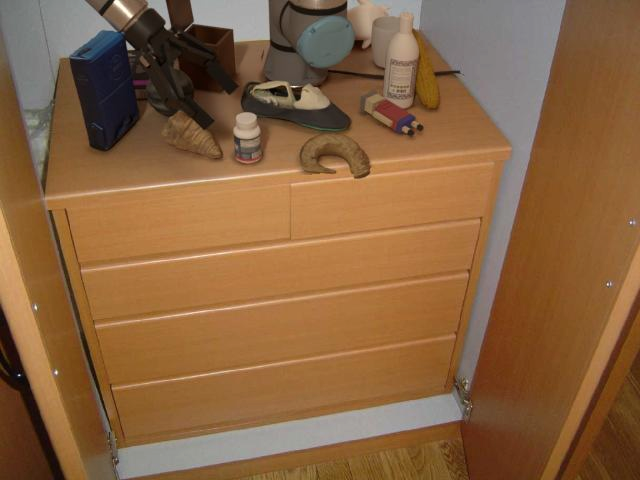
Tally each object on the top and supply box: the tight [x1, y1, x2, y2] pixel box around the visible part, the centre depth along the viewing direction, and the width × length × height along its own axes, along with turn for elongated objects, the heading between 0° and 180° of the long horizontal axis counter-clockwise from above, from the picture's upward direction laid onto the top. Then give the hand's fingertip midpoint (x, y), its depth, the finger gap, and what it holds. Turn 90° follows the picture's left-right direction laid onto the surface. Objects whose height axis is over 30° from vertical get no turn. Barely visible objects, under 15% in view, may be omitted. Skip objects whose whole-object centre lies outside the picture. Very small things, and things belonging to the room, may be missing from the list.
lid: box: [165, 0, 195, 31], centre depth 144 cm, size 11×9×1 cm
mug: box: [370, 15, 399, 69], centre depth 158 cm, size 13×9×10 cm
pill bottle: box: [232, 111, 263, 164], centre depth 128 cm, size 5×5×9 cm
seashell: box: [160, 110, 222, 159], centre depth 131 cm, size 14×8×8 cm
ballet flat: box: [240, 81, 352, 132], centre depth 139 cm, size 8×24×8 cm, turn 72°
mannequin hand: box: [347, 0, 391, 50], centre depth 169 cm, size 12×18×12 cm
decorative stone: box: [146, 67, 196, 117], centre depth 140 cm, size 10×10×10 cm
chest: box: [177, 23, 237, 94], centre depth 150 cm, size 10×9×11 cm
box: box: [127, 49, 149, 100], centre depth 153 cm, size 14×4×20 cm
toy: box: [359, 90, 425, 137], centre depth 141 cm, size 6×4×15 cm
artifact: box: [299, 132, 372, 180], centre depth 129 cm, size 12×3×15 cm
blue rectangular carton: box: [68, 29, 140, 152], centre depth 129 cm, size 14×5×20 cm, turn 164°
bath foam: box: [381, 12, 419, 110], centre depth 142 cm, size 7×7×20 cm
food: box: [412, 27, 441, 110], centre depth 148 cm, size 21×6×6 cm
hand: (222, 107), depth 125 cm, fingers open, 13 cm apart
